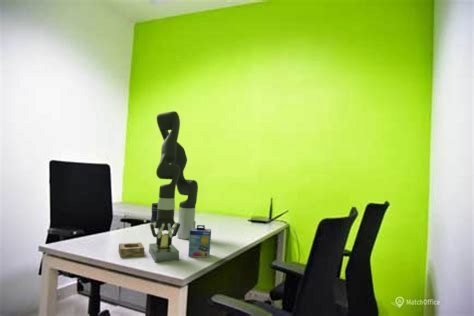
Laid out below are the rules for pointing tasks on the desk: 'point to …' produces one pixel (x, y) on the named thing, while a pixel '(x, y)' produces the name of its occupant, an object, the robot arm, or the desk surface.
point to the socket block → (131, 249)
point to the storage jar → (154, 213)
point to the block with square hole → (163, 253)
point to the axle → (164, 241)
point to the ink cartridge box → (199, 242)
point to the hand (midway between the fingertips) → (163, 245)
